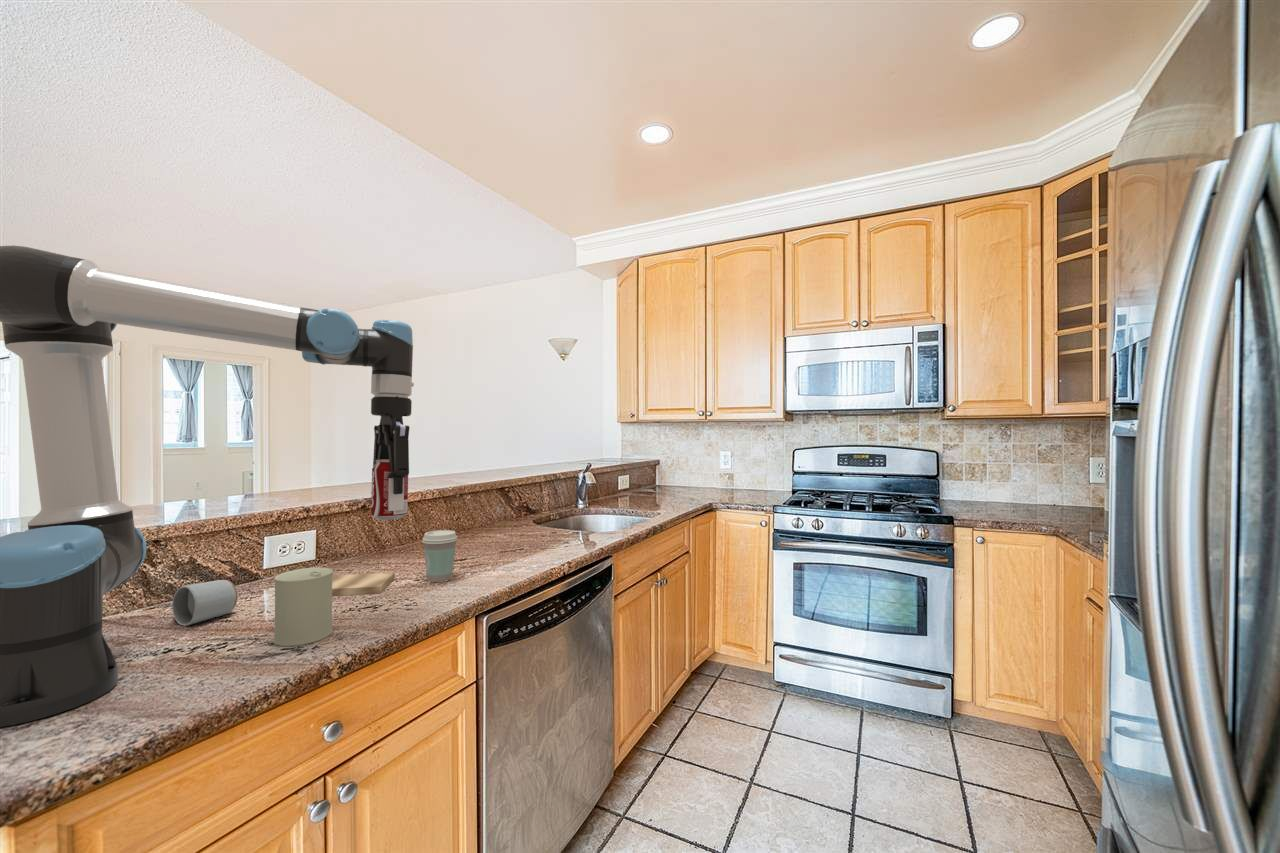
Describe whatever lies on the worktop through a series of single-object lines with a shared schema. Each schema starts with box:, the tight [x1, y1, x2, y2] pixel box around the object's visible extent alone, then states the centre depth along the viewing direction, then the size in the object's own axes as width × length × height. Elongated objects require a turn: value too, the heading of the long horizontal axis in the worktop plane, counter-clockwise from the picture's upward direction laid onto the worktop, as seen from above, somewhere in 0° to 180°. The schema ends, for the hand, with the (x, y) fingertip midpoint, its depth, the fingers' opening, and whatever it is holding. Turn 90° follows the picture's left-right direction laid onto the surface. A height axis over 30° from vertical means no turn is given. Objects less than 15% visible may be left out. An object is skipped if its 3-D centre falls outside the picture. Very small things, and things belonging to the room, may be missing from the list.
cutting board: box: [332, 572, 396, 597], centre depth 124 cm, size 16×12×2 cm
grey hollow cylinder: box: [171, 579, 238, 627], centre depth 104 cm, size 11×8×8 cm
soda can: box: [370, 459, 409, 521], centre depth 105 cm, size 7×7×12 cm
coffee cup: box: [421, 529, 459, 583], centre depth 131 cm, size 8×8×12 cm
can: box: [272, 566, 334, 647], centre depth 95 cm, size 9×9×12 cm
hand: (389, 508), depth 105 cm, fingers closed on soda can, 7 cm apart
